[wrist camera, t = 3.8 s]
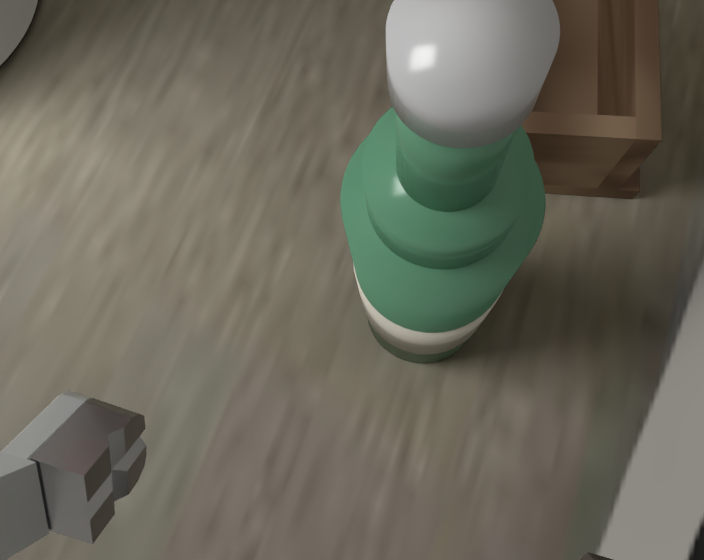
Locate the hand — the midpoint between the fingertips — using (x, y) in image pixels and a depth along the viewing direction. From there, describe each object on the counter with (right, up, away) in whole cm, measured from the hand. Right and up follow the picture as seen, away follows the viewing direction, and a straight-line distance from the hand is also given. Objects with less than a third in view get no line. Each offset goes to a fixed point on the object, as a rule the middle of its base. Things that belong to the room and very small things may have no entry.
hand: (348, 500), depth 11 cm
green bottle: (+3, +3, +19) cm, 19 cm away
